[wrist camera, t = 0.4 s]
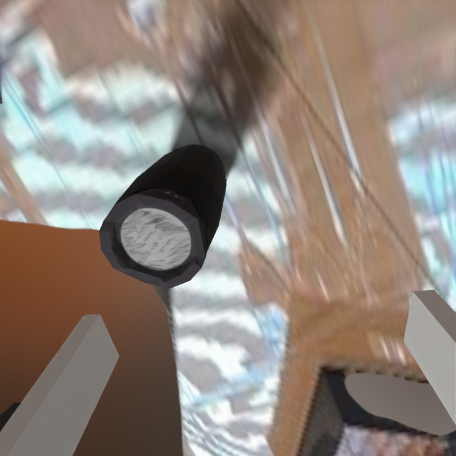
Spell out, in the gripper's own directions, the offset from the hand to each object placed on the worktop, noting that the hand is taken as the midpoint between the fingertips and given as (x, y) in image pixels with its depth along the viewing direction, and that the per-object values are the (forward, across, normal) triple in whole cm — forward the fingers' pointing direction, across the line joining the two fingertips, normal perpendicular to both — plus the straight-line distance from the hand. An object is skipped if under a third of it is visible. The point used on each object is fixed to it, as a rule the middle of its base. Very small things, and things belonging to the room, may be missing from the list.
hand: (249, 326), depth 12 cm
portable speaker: (+28, -7, 0) cm, 29 cm away
